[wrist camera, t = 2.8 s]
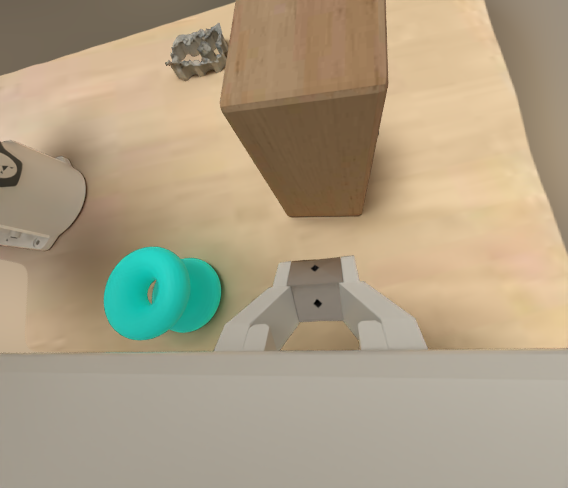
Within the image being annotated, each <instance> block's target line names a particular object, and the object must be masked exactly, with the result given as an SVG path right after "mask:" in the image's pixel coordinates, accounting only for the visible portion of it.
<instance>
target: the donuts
mask: <svg viewBox="0 0 568 488" xmlns="http://www.w3.org/2000/svg"><path fill="white" fill-rule="evenodd" d="M155 280H157V281H156V283H155V285H154V288H153V293H152V304H151V303H150V302H149V300H148V297H147V293H148V289H149V286H150V285H151V283H152V282H153V281H155ZM220 299H221V284H220V280H219V277H218V275H217V273H216V272H215V270H214V269H213V268H212V267H211V266H210V265H209V264H208V263H206V262H205V261H203V260H200V259H196V258H184V259H180V258H179V257H178V256H177V255H176V254H174V253H173V252H171V251H169V250H167V249H164V248H161V247H145V248H141V249H138V250H136V251H133V252H132V253H130V254H128V255H127V256H126V257H124V258H123V259H122V260H121V261H120V262H119V263H118V264H117V265H116V267H115V268H114V269H113V271H112V273H111V275H110V277H109V279H108V281H107V284H106V287H105V292H104V309H105V314H106V317H107V319H108V321H109V323H110V325H111V326H112V327H113V329H114V330H115V331H116V332H118V333H119V334H120V335H122V336H124V337H126V338H129V339H133V340H148V339H152V338H155V337H158V336H160V335H162V334H163V333H165V332H167V331H168V330H172V331H175V332H180V333H186V332H191V331H195V330H197V329H199V328H201V327H202V326H204V325H205V324H206V323H208V322H209V321H210V319H211V318H212V317H213V316H214V314H215V312H216V311H217V308H218V306H219V303H220Z"/></svg>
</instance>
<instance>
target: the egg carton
mask: <svg viewBox="0 0 568 488" xmlns="http://www.w3.org/2000/svg"><path fill="white" fill-rule="evenodd" d="M171 48H172V53H171V57H172V62H170V60H168V62H166V63H165V64H166V66H167V65H169V66H170V65H171V68H172V69H173V70H174V72H175V73H176V75H177V76H178V78H181V79H183V81H188V80H189V78H190V77H191V76H192V75H194V74H198V75H199V77H202V76H205V74H206V73H207V72H208V71H209V70H215V71H216V73H218V72H221V71H222V69H223V67H225V66H226V60H227V59H226V57H225V55H224V53H225V52H227V51H228V46H227V44H226V41H225V39H224V37H223V35H222V31H221V27H220V23H218V24H217V25H216V26H214V27H211V29H207V28H206V31H204V30H202V29H200V30H199V31H198V32H194V33H192V34H189V35H179V36H178V37H177V38H176V39H175V41H174V43H173V47H171ZM216 48H217V49H218V51H219V53H220V54H218V55H217V56H216V55H215V53H214V52H213V51H214V50H215V49H216ZM187 54H191V56H197V55H199V54H200V55H201V56H202V61H201V62H200V61H199V60H194V61H193V62H192V61H191V60H189V61H182V62H181V60H183V59H184V58H185V57H186V55H187Z"/></svg>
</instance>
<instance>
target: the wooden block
mask: <svg viewBox="0 0 568 488" xmlns="http://www.w3.org/2000/svg"><path fill="white" fill-rule="evenodd" d="M387 88H388V59H387V28H386V0H236V3H235V9H234V16H233V22H232V28H231V35H230V41H229V47H228V54H227V60H226V66H225V73H224V79H223V85H222V92H221V98H220V107H221V110H222V112H223V114H224V116H225V117H226V119H227V120H228V122H229V124H230V125H231V127H232V128H233V130H234V131H235V133H236V135H237V136H238V138H239V139H240V141H241V143H242V144H243V146H244V147H245V149H246V150H247V152H248V154H249V155H250V157H251V158H252V160H253V162H254V163H255V165H256V166H257V168H258V169H259V171H260V173H261V174H262V176H263V177H264V179H265V180H266V182H267V184H268V185H269V187H270V188H271V190H272V192H273V193H274V195H275V196H276V198H277V199H278V201H279V203H280V204H281V206H282V207H283V209H284V211H285V212H286V214H287V215H288V216H357V215H361V213H362V211H363V206H364V201H365V196H366V191H367V186H368V181H369V176H370V171H371V166H372V161H373V157H374V152H375V147H376V142H377V137H378V132H379V127H380V122H381V117H382V112H383V107H384V102H385V98H386V93H387Z"/></svg>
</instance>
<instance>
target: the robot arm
mask: <svg viewBox="0 0 568 488" xmlns="http://www.w3.org/2000/svg"><path fill="white" fill-rule="evenodd" d="M85 193H86V185H85V180H84V178H83V176H82V174H81V173H80V172H79V171H78V170H76V169H74V168H73V167H72V166H71V163H70V161H69V160H68V159H67V158H65V157H63V156H59V157H56V158H53V157H51V156H49V155H46V154H44V153H42V152H39V151H37V150H35V149H32V148H30V147H28V146H25V145H23V144H21V143H18V142H16V141H12V140H9V141H4V142H0V245H2V246H10V247H18V248H26V249H34V250H42V251H46V250H48V249H49V248H50V247H51V246H52V245H53V243H54V242H55V240H56V239H57V237H58V236H59V235H60V234H61V233H62V232H64V231H65V230H66V229H67V228H68V227H69V226H70V225H71V224H72V223H73V221H74V220H75V219H76V217H77V216H78V214H79V212H80V210H81V208H82V205H83V202H84V199H85ZM312 321H344V323H345V324H346V325H347V327H348V328H349V329H350V330H351V332H352V333H353V334H354V335H355V337H356V338H357V339H358V340H359V350H307V351H280V349H281V348H282V347H283V345H284V344H285V342H286V341H287V340H288V338H289V337H290V336H291V334H292V333H293V331H294V330H295V329H296V327H297V326H298V325H299V322H312ZM0 488H568V348H534V349H439V350H428V348H427V345H426V343H425V341H424V338H423V336H422V333H421V331H420V329H419V326H418V324H417V322H416V319H415V318H414V317H413V316H411V315H410V314H408V313H407V312H406V311H404V310H403V309H401V308H400V307H399V306H397V305H396V304H395V303H393V302H392V301H390V300H389V299H388V298H386V297H385V296H383V295H382V294H381V293H379V292H378V291H377V290H375V289H374V288H372V287H371V286H370V285H368V284H367V283H365V282H364V281H359V276H358V271H357V267H356V262H355V257H354V256H353V255H352V256H344V257H341V259H340V257H337V258H328V259H319V260H301V261H292V262H291V261H288V262H280V263H279V264H278V268H277V272H276V275H275V279H274V283H273V287H270V288H268V289H267V290H266V291H264V292H263V293H262V294H261V295H260V296H258V297H257V298H256V299H255V300H254V301H252V302H251V303H250V304H249V305H248V306H246V307H245V308H244V309H243V310H242V311H240V312H239V313H238V314H237V315H236V316H235V317H233V318H232V319H231V320H230V321H229V322H227V323H226V324H225V326H224V328H223V330H222V333H221V335H220V337H219V340H218V342H217V344H216V347H215V349H214V351H199V352H81V353H0Z"/></svg>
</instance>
